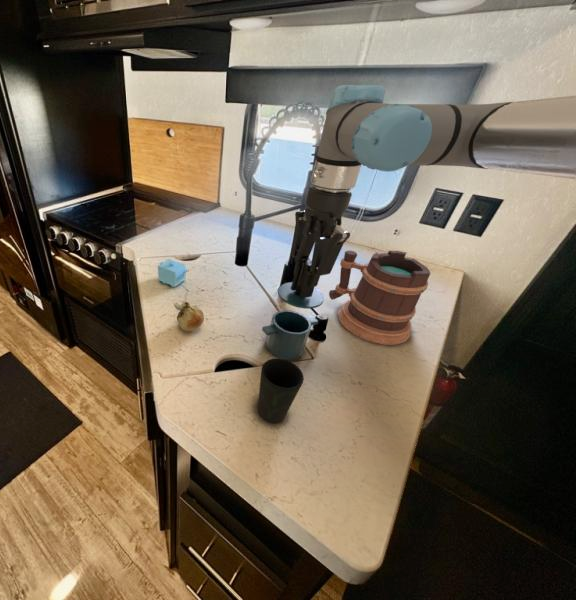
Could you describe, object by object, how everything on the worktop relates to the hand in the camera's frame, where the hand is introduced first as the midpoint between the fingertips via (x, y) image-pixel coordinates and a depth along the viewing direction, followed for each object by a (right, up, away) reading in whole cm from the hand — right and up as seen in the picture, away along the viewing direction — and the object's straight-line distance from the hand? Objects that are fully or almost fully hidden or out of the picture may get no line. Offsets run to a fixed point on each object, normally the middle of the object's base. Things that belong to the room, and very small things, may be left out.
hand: (301, 292), depth 71 cm
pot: (0, -14, +11) cm, 18 cm away
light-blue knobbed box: (-29, +4, +37) cm, 47 cm away
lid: (0, -1, +1) cm, 1 cm away
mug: (+27, -8, +20) cm, 34 cm away
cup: (-8, -25, -5) cm, 27 cm away
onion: (-25, -10, +17) cm, 32 cm away
